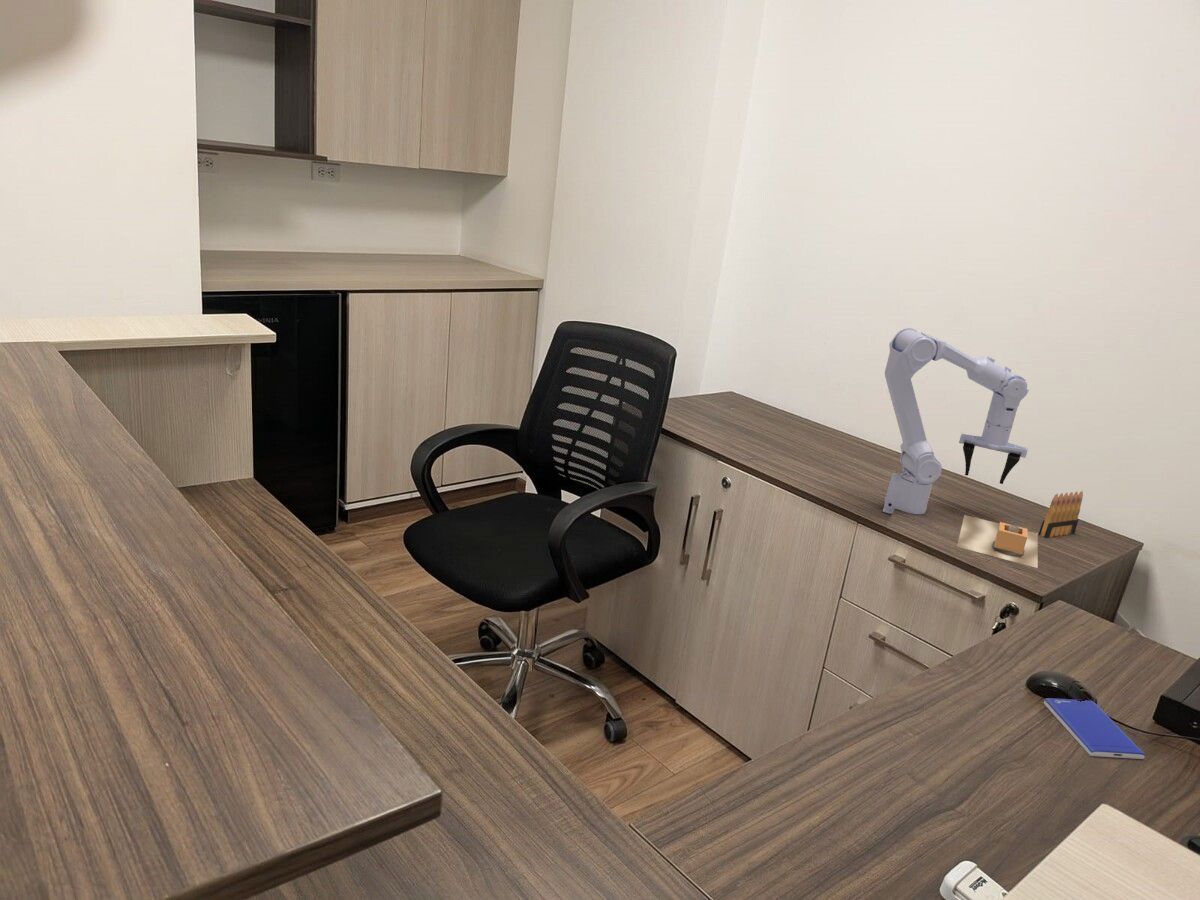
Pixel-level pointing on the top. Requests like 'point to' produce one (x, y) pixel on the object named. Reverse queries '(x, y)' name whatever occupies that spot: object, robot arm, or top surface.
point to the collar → (1011, 539)
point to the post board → (982, 540)
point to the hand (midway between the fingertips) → (983, 478)
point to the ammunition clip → (1062, 515)
